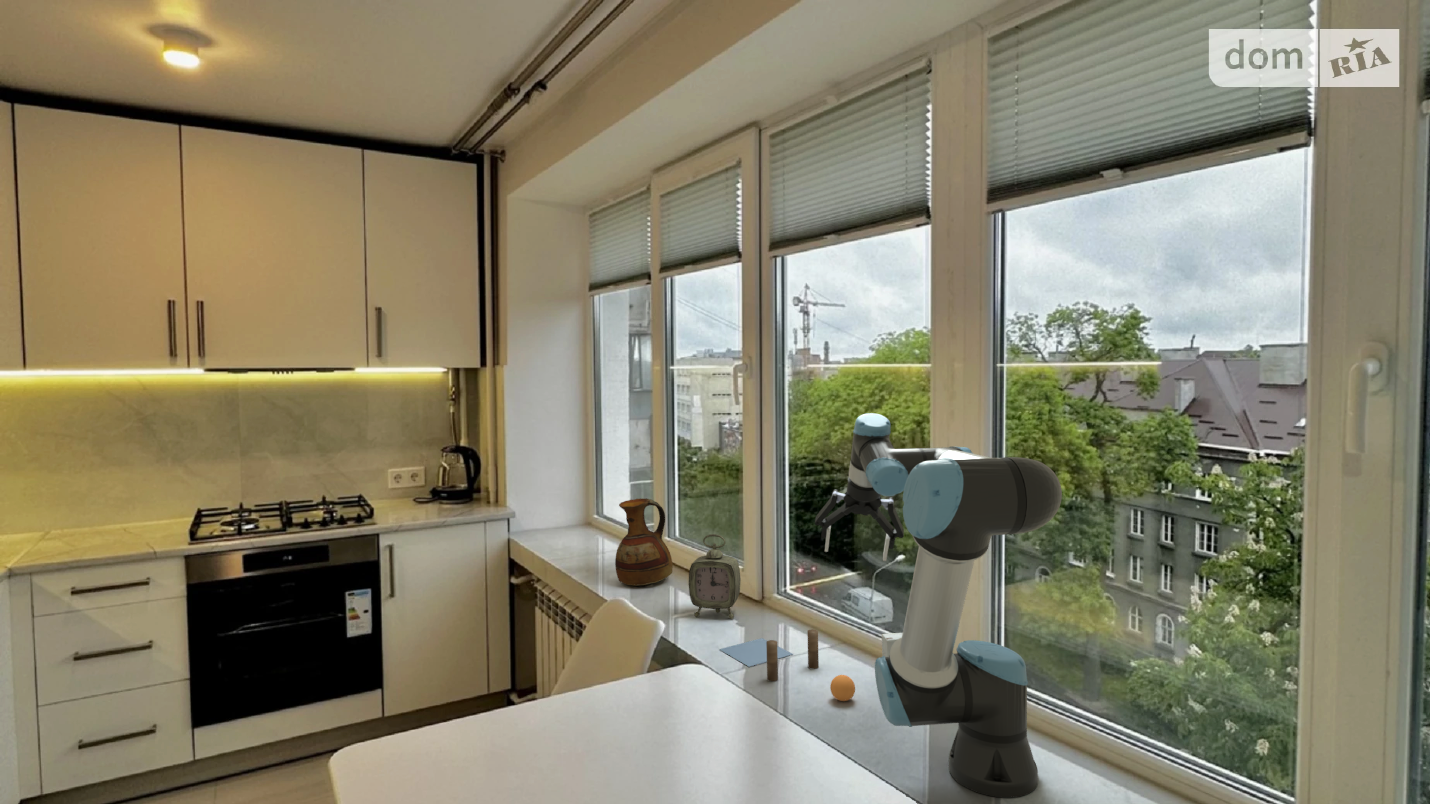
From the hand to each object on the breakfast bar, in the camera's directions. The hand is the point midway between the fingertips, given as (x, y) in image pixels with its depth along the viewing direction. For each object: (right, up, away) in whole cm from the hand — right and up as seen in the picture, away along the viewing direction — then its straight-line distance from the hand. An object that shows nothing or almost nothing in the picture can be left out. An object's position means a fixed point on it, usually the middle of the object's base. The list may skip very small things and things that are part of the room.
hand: (855, 552), depth 174 cm
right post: (-9, -30, +9) cm, 33 cm away
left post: (-19, -31, +3) cm, 37 cm away
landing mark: (-23, -30, +20) cm, 42 cm away
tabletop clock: (-33, -29, +50) cm, 66 cm away
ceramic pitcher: (-58, -29, +87) cm, 108 cm away
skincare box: (+9, -31, -3) cm, 32 cm away
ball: (-5, -28, -9) cm, 30 cm away
